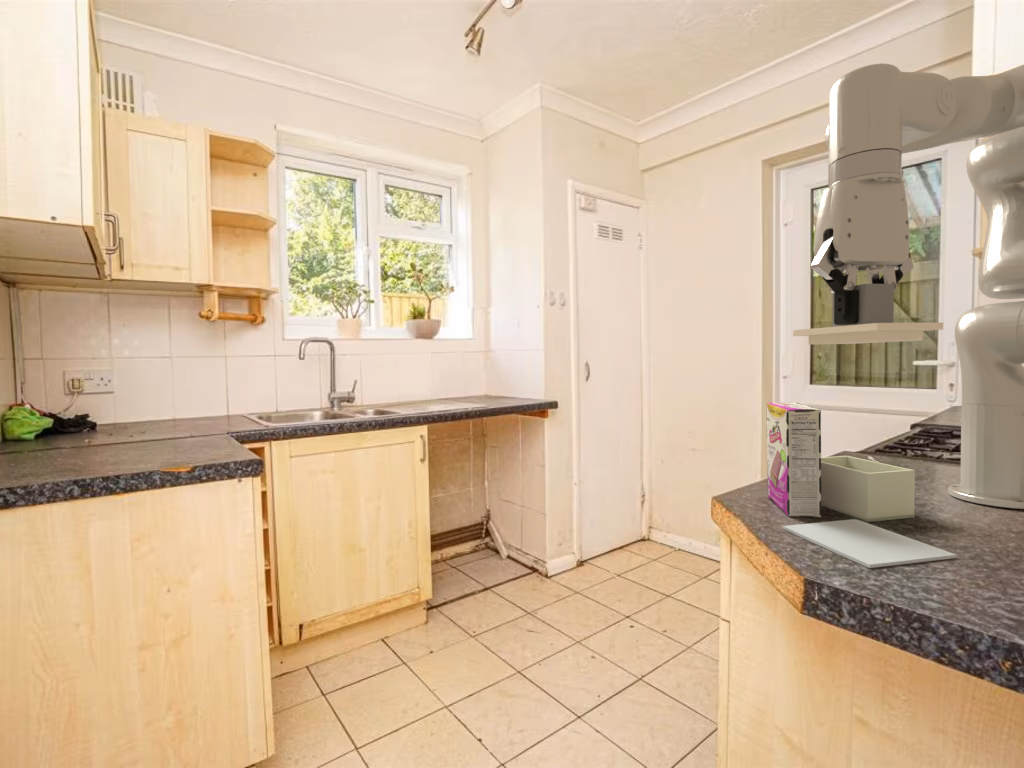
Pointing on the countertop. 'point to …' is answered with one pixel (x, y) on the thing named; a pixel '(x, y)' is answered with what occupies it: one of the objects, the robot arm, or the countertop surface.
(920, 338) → the lid
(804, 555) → the countertop surface
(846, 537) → the board
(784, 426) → the candy bar box
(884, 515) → the tub
